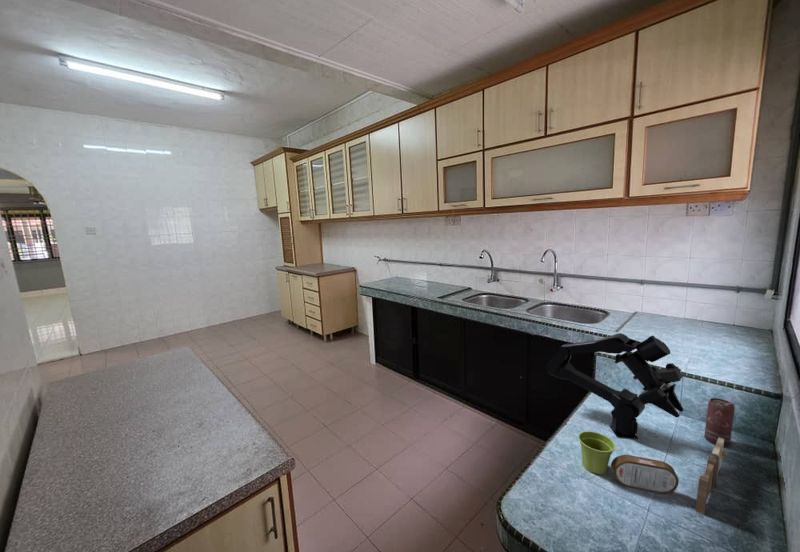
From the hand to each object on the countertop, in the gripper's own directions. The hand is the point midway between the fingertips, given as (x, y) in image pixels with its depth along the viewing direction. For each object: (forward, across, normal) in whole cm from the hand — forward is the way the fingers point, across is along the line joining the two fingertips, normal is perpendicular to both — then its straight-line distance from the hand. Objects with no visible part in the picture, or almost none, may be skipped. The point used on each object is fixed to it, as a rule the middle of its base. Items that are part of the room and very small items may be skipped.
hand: (680, 413), depth 100 cm
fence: (+16, -17, +3) cm, 23 cm away
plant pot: (0, -26, +20) cm, 32 cm away
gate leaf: (+16, -4, +3) cm, 17 cm away
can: (+15, +18, +5) cm, 24 cm away
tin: (+8, -24, +11) cm, 28 cm away
